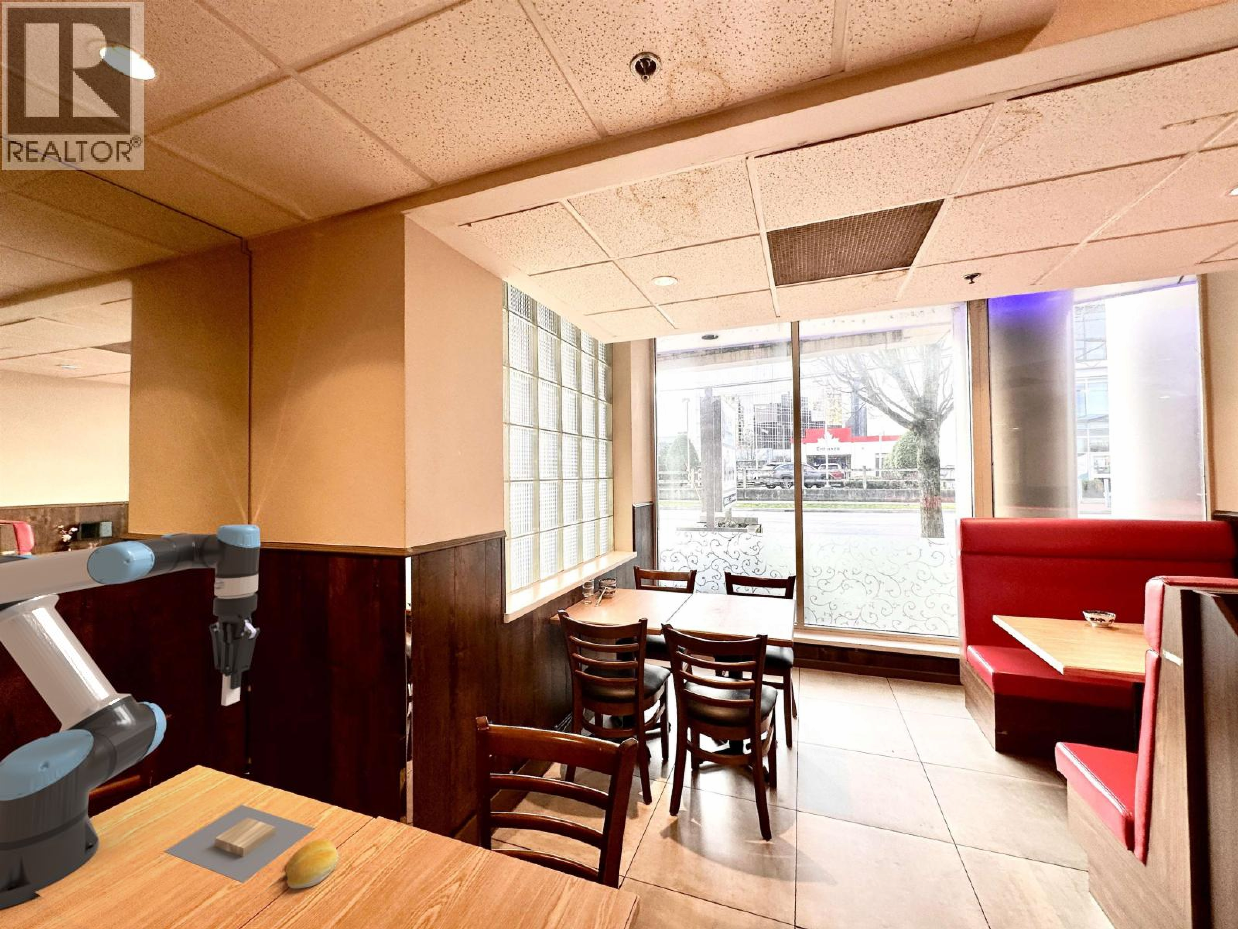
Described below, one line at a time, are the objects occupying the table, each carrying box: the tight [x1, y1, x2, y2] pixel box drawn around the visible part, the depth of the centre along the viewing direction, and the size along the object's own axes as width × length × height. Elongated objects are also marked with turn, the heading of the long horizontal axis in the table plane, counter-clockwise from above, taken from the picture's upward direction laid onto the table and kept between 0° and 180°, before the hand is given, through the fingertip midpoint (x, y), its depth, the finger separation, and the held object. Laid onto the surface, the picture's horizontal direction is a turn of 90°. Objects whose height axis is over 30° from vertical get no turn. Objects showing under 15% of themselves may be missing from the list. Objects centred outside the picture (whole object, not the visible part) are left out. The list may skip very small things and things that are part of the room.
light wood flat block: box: [215, 818, 275, 857], centre depth 94 cm, size 2×6×8 cm
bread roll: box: [285, 839, 339, 889], centre depth 88 cm, size 8×9×4 cm
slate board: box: [163, 804, 316, 883], centre depth 94 cm, size 22×14×1 cm, turn 72°
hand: (230, 702), depth 103 cm, fingers closed
